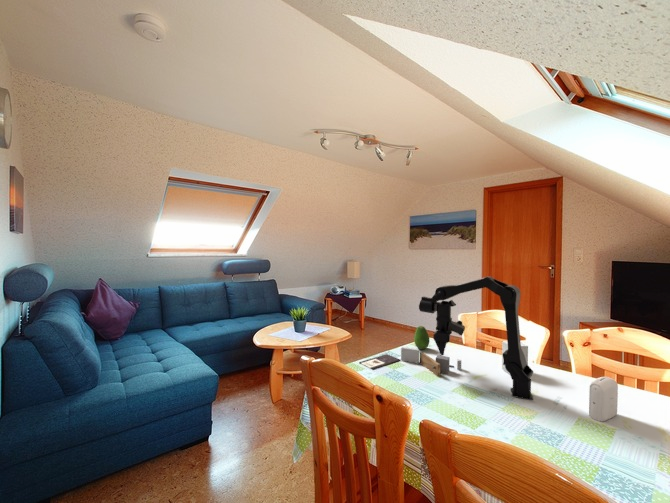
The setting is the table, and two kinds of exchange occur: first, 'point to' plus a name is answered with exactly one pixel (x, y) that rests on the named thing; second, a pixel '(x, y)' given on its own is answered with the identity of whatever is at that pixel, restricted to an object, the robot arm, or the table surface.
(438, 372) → the oak door
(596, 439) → the table surface
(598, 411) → the photo printer
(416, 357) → the frame
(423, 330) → the fruit
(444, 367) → the block
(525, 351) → the supplement box
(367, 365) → the chocolate bar
